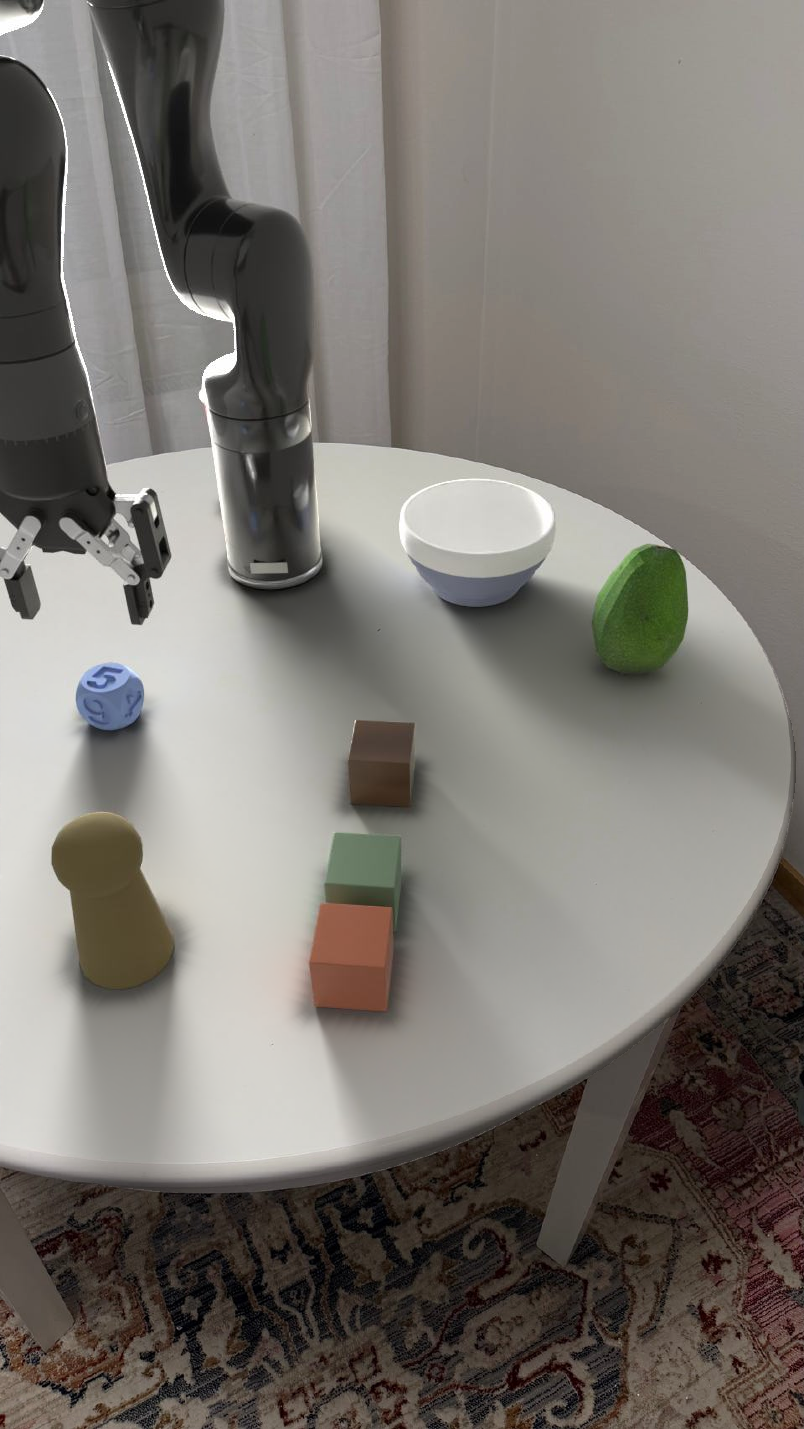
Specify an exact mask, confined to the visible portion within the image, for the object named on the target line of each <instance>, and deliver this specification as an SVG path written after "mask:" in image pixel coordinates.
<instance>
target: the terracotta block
mask: <svg viewBox="0 0 804 1429" xmlns="http://www.w3.org/2000/svg"><path fill="white" fill-rule="evenodd" d="M394 948H395V947H394V932H393V911H392V907H378V906H362V905H346V904H330V903H326V902H321V903H320V904H319V907H318V914H317V918H316V924H315V928H314V934H313V939H312V944H311V950H310V955H309V960H308V966H309V975H310V984H311V990H312V991H311V992H312V1000H313V1006H314V1007H315V1008H316V1007H318V1008H328V1009H329V1008H330V1009H343V1010H344V1009H346V1010H357V1011H358V1010H360V1011H370V1012H371V1011H372V1012H384V1013H385V1012H387V1011H388V1005H389V997H390V996H389V995H390V987H391V979H392V978H391V977H392V971H393V970H392V969H393V963H394V962H393V961H394V953H395V952H394Z"/></svg>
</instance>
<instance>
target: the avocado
mask: <svg viewBox="0 0 804 1429" xmlns="http://www.w3.org/2000/svg"><path fill="white" fill-rule="evenodd" d="M688 596H689V595H688V580H687V570H686V568H685V564H684V561H683V559H682V557H681V555H680V553H679V552H678V551H677V550H676V549H675V548H671V547H668V546H664V545H661V544H654V543H644V544H642V545H640V546H638V547H636V548H633V549H632V550H631V551H630V552H629V553H628V554H626V555H625V557H624V558H623V559H622V561H621V562H620V563H619V564H618V565H617V567H615V569H614V570H613V571H612V572H611V573H610V575H609V576H608V578H607V579H606V581H605V583H604V584H603V586H602V588H601V589H600V590H599V592H598V594H597V597H596V601H595V606H594V610H593V614H592V618H591V629H592V635H593V640H594V650H595V652H596V654H597V655H598V656H599V658H600V659H601V660H602V662H603V663H604V664H605V665H606V667H607V668H609V669H611V670H613V671H614V672H617V673H618V672H619V673H620V674H623V675H647V674H651V673H652V672H653V673H654V672H656V671H659V670H660V669H662V668H663V667H664V666H665V665H666V664H668V662H670V660H671V659H672V658H673V656H675V654H676V653H677V652H678V649H679V648H680V647H681V644H682V643H683V641H684V638H685V634H686V630H687V624H688V619H689V598H688Z"/></svg>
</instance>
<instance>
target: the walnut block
mask: <svg viewBox="0 0 804 1429" xmlns="http://www.w3.org/2000/svg"><path fill="white" fill-rule="evenodd" d="M415 770H416V722H410V721H408V722H407V721H387V720H371V719H370V720H369V719H368V720H367V719H355V720H354V724H353V730H352V736H351V741H350V746H349V750H348V755H347V771H348V772H347V773H348V788H349V803H350V805H360V806H361V805H363V806H381V807H398V808H399V807H400V808H411V806H412V795H413V788H414V779H415V778H414V777H415Z"/></svg>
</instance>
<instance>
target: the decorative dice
mask: <svg viewBox="0 0 804 1429" xmlns="http://www.w3.org/2000/svg"><path fill="white" fill-rule="evenodd" d="M144 700H145V688H144V684H143V681H142V679H141V678H140V677H139V676H138V674H137V673H136V672H135V671H134V670H132V669H131V668H129V667H128V666H126V665H123V664H121V663H116V662H106V663H101V664H97V665H94V666H93V667H90V668H89V669H88V670H86V671H85V672H84V673H83V675H81V677H80V679H79V682H78V683H77V687H76V691H75V705H76V709H77V712H78V713H79V715H80V716H81V717H82V719H83V720H84V721H85V722H86V723H88V724H89V725H91V726H93V727H94V728H97V729H99V730H103V731H116V730H121V729H124V728H126V727H128V726H130V725H131V724H133V723H134V722H135V721H136V720H137V719H138V718H139V716H140V714H141V712H142V709H143V706H144Z"/></svg>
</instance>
